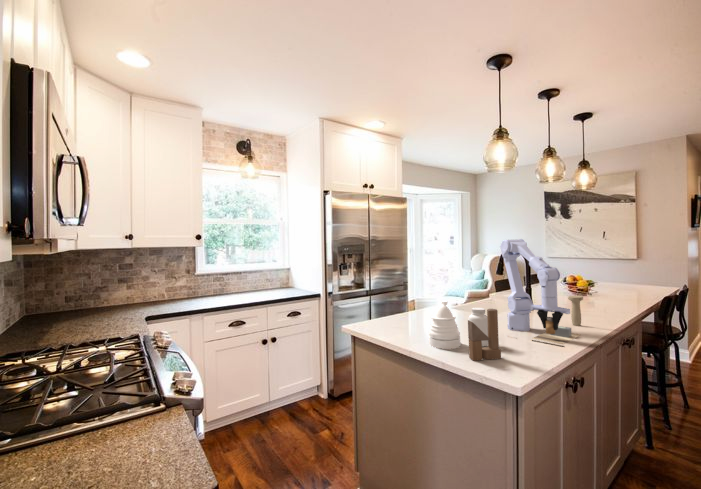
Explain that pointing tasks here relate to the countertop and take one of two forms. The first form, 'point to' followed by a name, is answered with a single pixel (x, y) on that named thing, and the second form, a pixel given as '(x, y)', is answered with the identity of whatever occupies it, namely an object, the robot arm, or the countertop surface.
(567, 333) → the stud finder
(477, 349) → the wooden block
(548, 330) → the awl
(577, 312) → the handle
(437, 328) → the honey pot
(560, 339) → the panel
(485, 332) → the pill bottle
